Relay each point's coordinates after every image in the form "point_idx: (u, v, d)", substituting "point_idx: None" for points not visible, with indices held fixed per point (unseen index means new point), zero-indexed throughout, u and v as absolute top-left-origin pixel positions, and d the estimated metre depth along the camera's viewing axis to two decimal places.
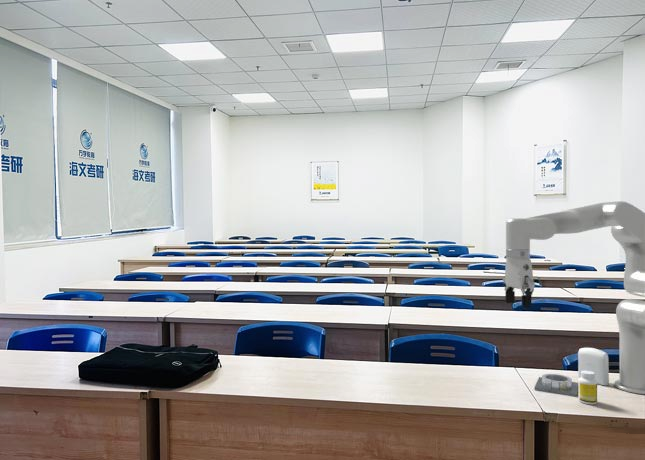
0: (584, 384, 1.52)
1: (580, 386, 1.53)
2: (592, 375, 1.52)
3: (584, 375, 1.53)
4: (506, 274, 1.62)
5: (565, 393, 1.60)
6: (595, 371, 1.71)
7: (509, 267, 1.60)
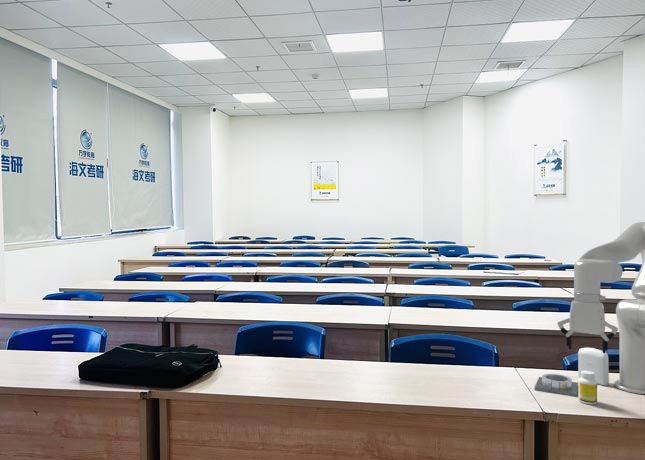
0: (584, 384, 1.52)
1: (580, 386, 1.53)
2: (592, 375, 1.52)
3: (584, 375, 1.53)
4: (575, 319, 1.53)
5: (565, 393, 1.60)
6: (595, 371, 1.71)
7: (582, 312, 1.52)
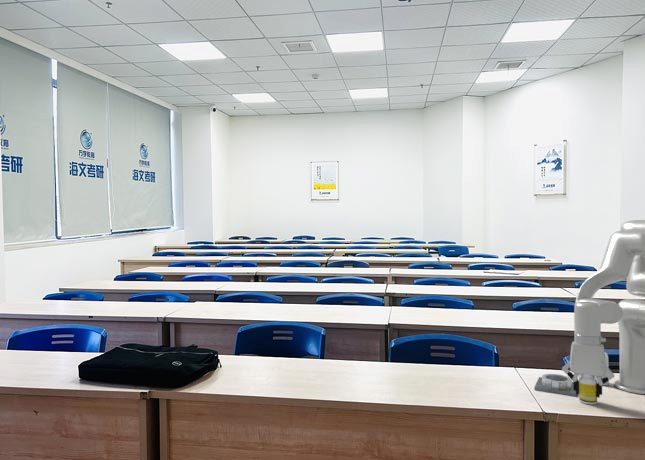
0: (583, 383, 1.52)
1: (580, 386, 1.53)
2: None
3: (584, 375, 1.53)
4: (575, 361, 1.54)
5: (565, 393, 1.60)
6: None
7: (582, 354, 1.52)
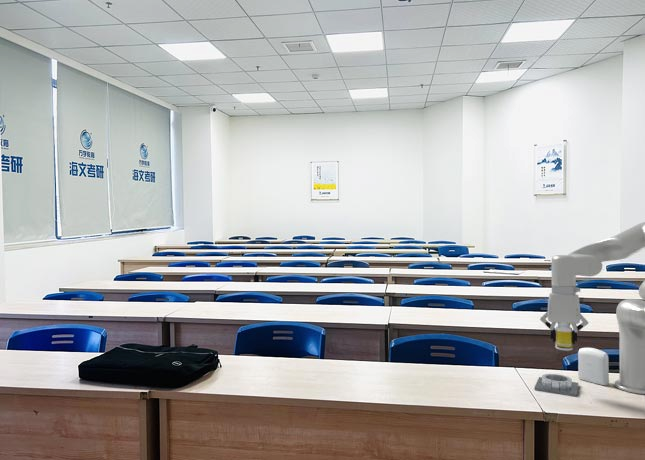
0: (560, 331, 1.62)
1: (557, 334, 1.63)
2: None
3: (560, 323, 1.63)
4: (552, 310, 1.64)
5: (565, 393, 1.60)
6: (595, 371, 1.71)
7: (559, 303, 1.62)
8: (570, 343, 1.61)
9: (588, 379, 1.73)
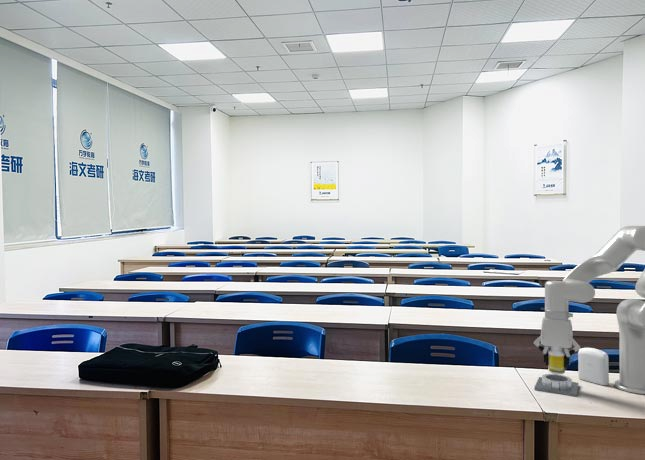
0: (552, 355, 1.66)
1: (549, 358, 1.67)
2: None
3: (553, 348, 1.66)
4: (545, 335, 1.67)
5: (565, 393, 1.60)
6: (595, 371, 1.71)
7: (551, 328, 1.66)
8: (562, 367, 1.65)
9: (588, 379, 1.73)
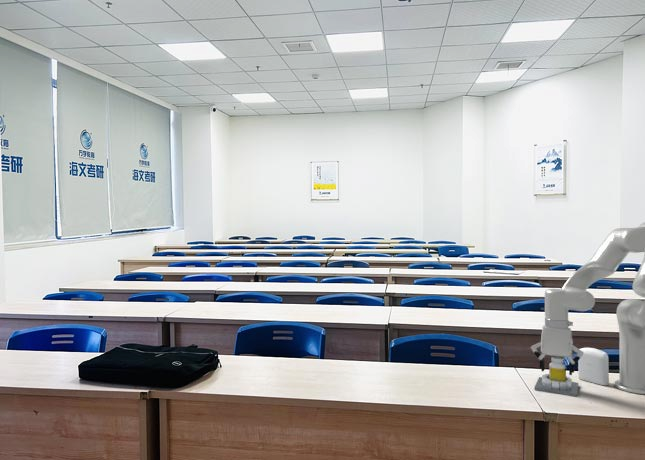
0: (553, 368, 1.66)
1: (550, 370, 1.67)
2: (561, 360, 1.66)
3: (554, 360, 1.66)
4: (545, 343, 1.67)
5: (565, 393, 1.60)
6: (595, 371, 1.71)
7: (551, 336, 1.66)
8: (563, 380, 1.65)
9: (588, 379, 1.73)
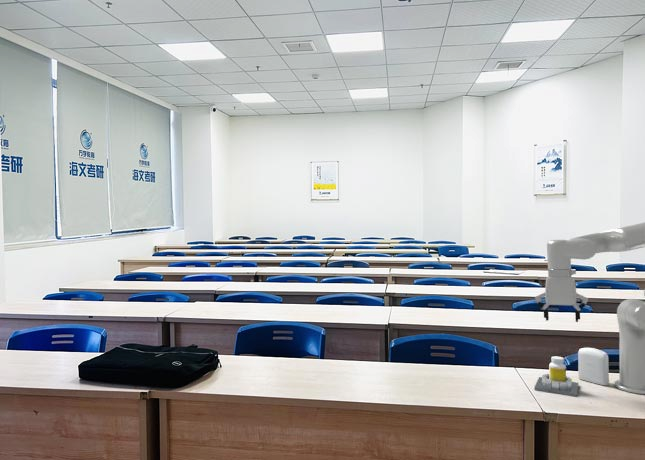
0: (553, 368, 1.66)
1: (550, 370, 1.67)
2: (561, 360, 1.66)
3: (554, 360, 1.66)
4: (550, 293, 1.70)
5: (565, 393, 1.60)
6: (595, 371, 1.71)
7: (555, 286, 1.69)
8: (563, 380, 1.65)
9: (588, 379, 1.73)
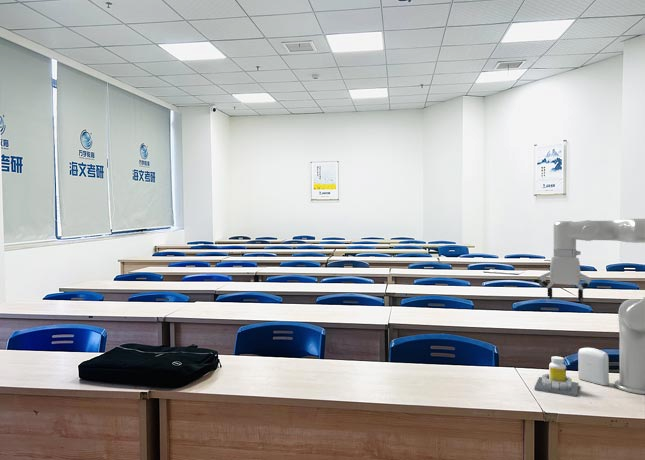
0: (553, 368, 1.66)
1: (550, 370, 1.67)
2: (561, 360, 1.66)
3: (554, 360, 1.66)
4: (554, 272, 1.76)
5: (565, 393, 1.60)
6: (595, 371, 1.71)
7: (560, 265, 1.74)
8: (563, 380, 1.65)
9: (588, 379, 1.73)
